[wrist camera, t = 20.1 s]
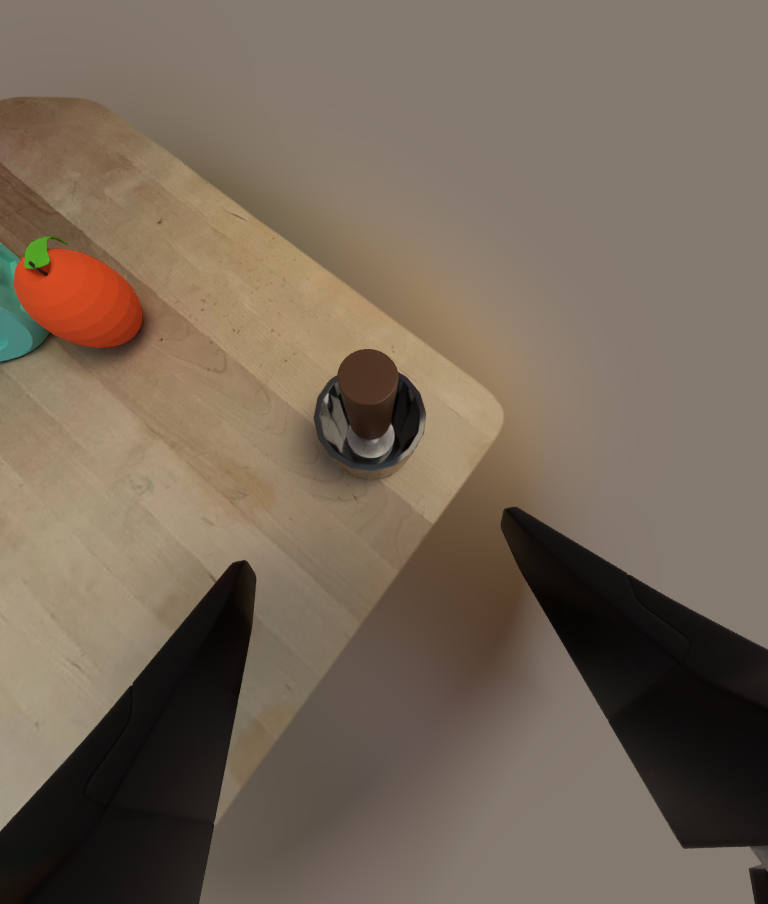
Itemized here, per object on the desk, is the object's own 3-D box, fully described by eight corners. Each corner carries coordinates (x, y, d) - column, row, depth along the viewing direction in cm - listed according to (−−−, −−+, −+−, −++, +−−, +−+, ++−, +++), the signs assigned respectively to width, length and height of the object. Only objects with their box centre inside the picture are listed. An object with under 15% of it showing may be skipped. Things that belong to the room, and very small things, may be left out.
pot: (428, 447, 24) (447, 426, 18) (362, 497, 23) (358, 493, 17) (379, 386, 25) (381, 345, 19) (314, 431, 24) (292, 404, 18)
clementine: (81, 296, 26) (-27, 218, 19) (156, 281, 27) (79, 200, 20) (87, 371, 25) (-27, 317, 18) (167, 353, 25) (87, 294, 18)
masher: (374, 470, 23) (374, 436, 12) (338, 441, 24) (305, 381, 12) (403, 435, 24) (429, 370, 13) (367, 407, 24) (362, 321, 13)
